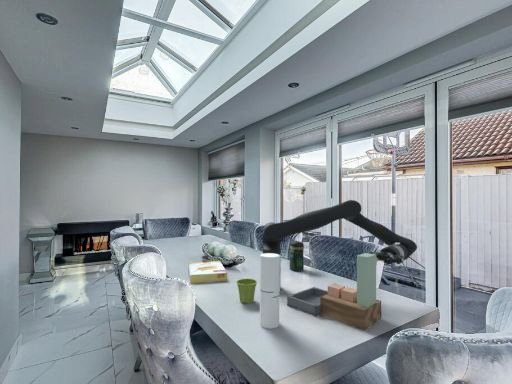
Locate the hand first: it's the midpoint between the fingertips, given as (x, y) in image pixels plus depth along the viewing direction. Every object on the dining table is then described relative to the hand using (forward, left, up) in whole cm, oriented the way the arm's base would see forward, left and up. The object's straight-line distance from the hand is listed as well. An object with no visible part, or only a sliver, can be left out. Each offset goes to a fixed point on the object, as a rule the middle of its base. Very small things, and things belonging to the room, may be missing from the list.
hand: (376, 260), depth 114 cm
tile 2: (-13, -4, -14) cm, 19 cm away
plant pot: (-53, +14, -21) cm, 58 cm away
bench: (-13, -4, -21) cm, 25 cm away
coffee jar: (-20, +68, -21) cm, 74 cm away
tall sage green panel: (-8, -9, -14) cm, 19 cm away
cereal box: (-76, +56, -22) cm, 96 cm away
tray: (-23, +8, -21) cm, 32 cm away
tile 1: (-16, 0, -14) cm, 22 cm away
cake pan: (-72, +88, -21) cm, 115 cm away
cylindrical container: (-45, -9, -21) cm, 50 cm away
